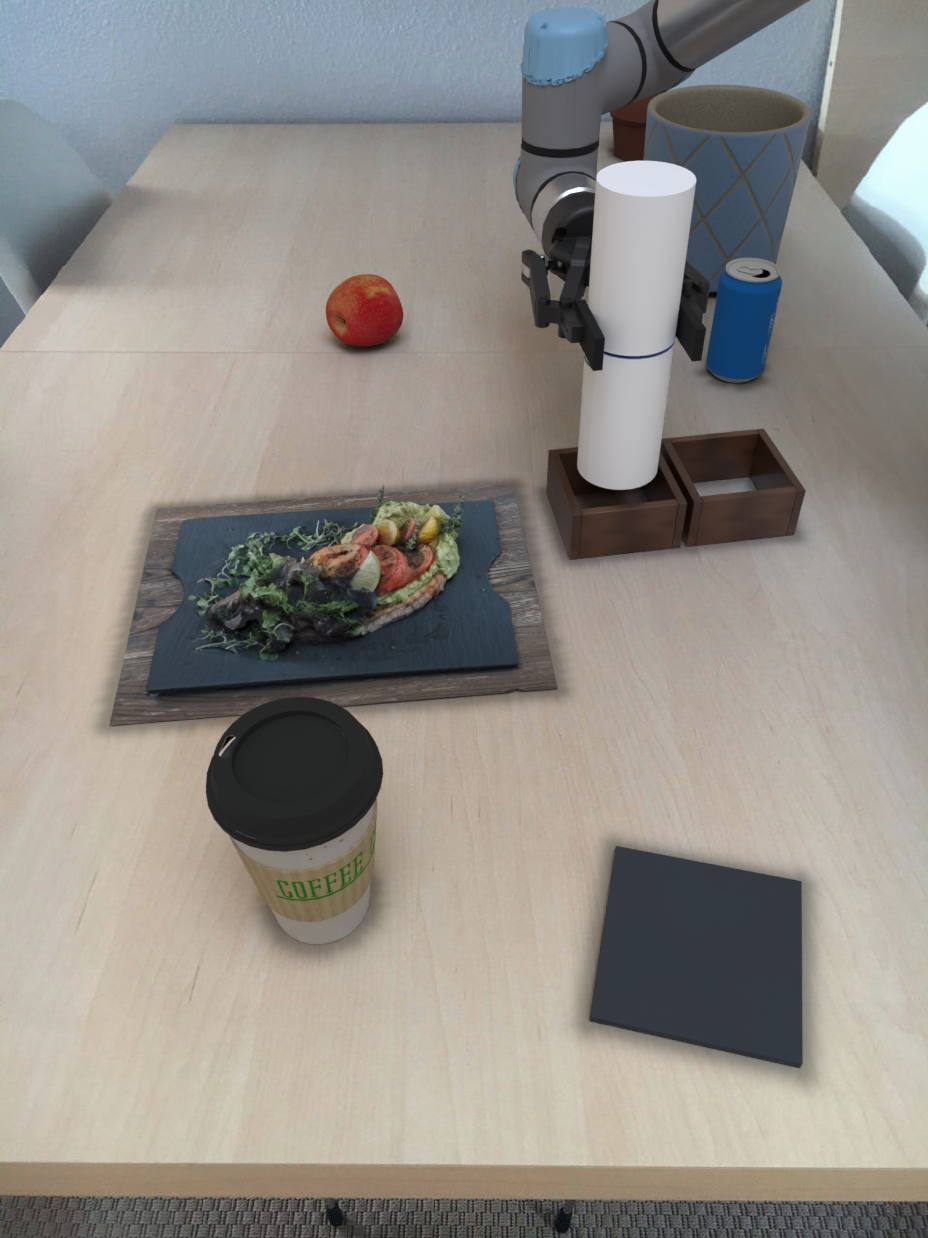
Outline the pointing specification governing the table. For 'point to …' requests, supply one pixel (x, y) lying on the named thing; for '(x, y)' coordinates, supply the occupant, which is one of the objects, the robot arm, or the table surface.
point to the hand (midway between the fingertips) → (649, 349)
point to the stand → (681, 498)
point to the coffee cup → (301, 811)
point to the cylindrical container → (633, 317)
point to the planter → (731, 166)
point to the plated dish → (333, 604)
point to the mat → (702, 956)
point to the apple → (364, 310)
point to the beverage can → (743, 319)
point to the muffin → (630, 129)
